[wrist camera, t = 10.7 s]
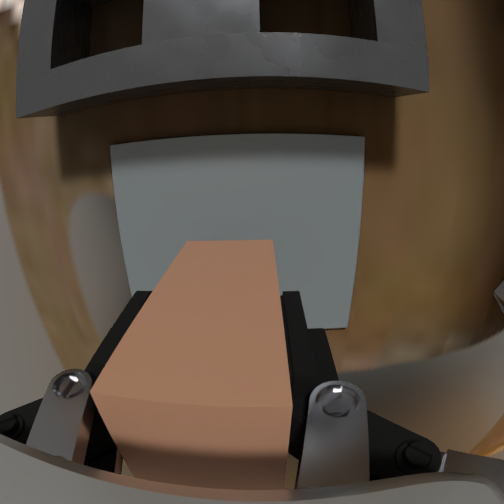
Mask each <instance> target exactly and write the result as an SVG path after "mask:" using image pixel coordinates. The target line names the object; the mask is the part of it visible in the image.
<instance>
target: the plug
mask: <svg viewBox="0 0 504 504" xmlns="http://www.w3.org/2000/svg"><path fill="white" fill-rule="evenodd" d="M90 393H91V395H92V398H93V400H94V402H95V404H96V406H97V409H98V411H99V413H100V415H101V417H102V419H103V421H104V423H105V425H106V427H107V429H108V431H109V433H110V435H111V437H112V439H113V441H114V443H115V444H116V446H117V448H118V450H119V452H120V453H121V455H122V457H123V459H124V460H125V462H126V464H127V466H128V467H129V469H130V471H131V472H132V474H133V476H134V477H135V478H139V479H144V480H150V481H156V482H162V483H168V484H176V485H183V486H192V487H202V488H215V489H232V490H283V487H284V480H285V472H286V463H287V455H288V446H289V437H290V428H291V418H292V408H293V404H292V395H291V386H290V376H289V367H288V359H287V350H286V341H285V333H284V324H283V316H282V308H281V299H280V291H279V283H278V276H277V268H276V260H275V252H274V245H273V240H217V241H187V242H186V243H185V245H184V246H183V248H182V249H181V250H180V252H179V253H178V255H177V256H176V258H175V259H174V261H173V262H172V263H171V265H170V266H169V268H168V269H167V271H166V272H165V274H164V275H163V277H162V278H161V280H160V281H159V282H158V284H157V285H156V287H155V288H154V290H153V291H152V293H151V294H150V296H149V297H148V299H147V300H146V302H145V303H144V305H143V307H142V308H141V310H140V311H139V313H138V314H137V316H136V317H135V319H134V320H133V322H132V324H131V325H130V327H129V328H128V330H127V331H126V333H125V334H124V336H123V338H122V339H121V341H120V342H119V344H118V346H117V347H116V349H115V350H114V352H113V354H112V355H111V357H110V359H109V360H108V362H107V363H106V365H105V367H104V368H103V370H102V372H101V373H100V375H99V377H98V378H97V380H96V382H95V383H94V385H93V387H92V389H91V390H90Z"/></svg>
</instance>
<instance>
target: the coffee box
mask: <svg viewBox="0 0 504 504" xmlns="http://www.w3.org/2000/svg"><path fill="white" fill-rule="evenodd" d="M493 295H494V297H495V299H496V301H497V302H498V304H499V306H500V308H501V310H502V312H503V313H504V280H503V281H502V282H501V284H500V285H499V286H498V287H497V288H496V289H495V290H494V293H493Z"/></svg>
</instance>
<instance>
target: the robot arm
mask: <svg viewBox="0 0 504 504" xmlns="http://www.w3.org/2000/svg"><path fill="white" fill-rule="evenodd" d="M151 293H152V291H136V292H135V294H134V295H133V297H132V298H131V300H130V301H129V303H128V304H127V305H126V307H125V308H124V310H123V312H122V313H121V314H120V316H119V317H118V319H117V321H116V322H115V324H114V325H113V327H112V328H111V329H110V331H109V332H108V334H107V336H106V337H105V338H104V340H103V341H102V343H101V345H100V346H99V348H98V349H97V351H96V353H95V354H94V356H93V357H92V359H91V361H90V362H89V364H88V365H87V367H86V369H85V370H81V369H68V370H65V371H62V372H61V373H59V374H57V375H56V376H55V377H54V378H53V379H52V380H51V382H50V383H49V386H48V388H47V390H46V393H45V395H44V397H43V398H42V399H39V400H36V401H34V402H32V403H29V404H26V405H23V406H21V407H18V408H16V409H13V410H11V411H8V412H6V413H4V414H2V415H0V504H504V460H501V459H497V458H490V457H485V456H479V455H473V454H468V453H463V452H458V451H453V450H447V452H446V453H444V452H440V451H439V448H438V447H437V446H436V445H435V444H434V443H433V442H432V441H430V440H428V439H427V438H424V437H422V436H420V435H418V434H415V433H413V432H411V431H409V430H407V429H405V428H403V427H401V426H399V425H397V424H394V423H392V422H391V421H388V420H386V419H384V418H382V417H380V416H378V415H376V414H374V413H372V412H371V411H368V410H367V406H366V405H367V404H366V398H365V395H364V393H363V392H362V391H361V389H359V388H358V387H356V386H355V385H354V384H351V383H348V382H344V381H339V380H338V376H337V372H336V368H335V365H334V361H333V358H332V354H331V350H330V347H329V343H328V340H327V336H326V333H325V330H324V328H310V329H308V328H307V323H306V319H305V314H304V310H303V305H302V301H301V296H300V292H299V291H283V294H282V295H280V299H281V308H282V316H283V324H284V333H285V341H286V350H287V359H288V367H289V376H290V386H291V395H292V404H293V408H292V418H291V428H290V437H289V446H288V451H289V453H290V454H291V455H292V456H294V457H295V458H297V459H298V460H299V463H298V469H297V476H296V482H295V488H294V489H289V490H232V489H215V488H202V487H192V486H183V485H176V484H168V483H162V482H156V481H150V480H144V479H139V478H134V477H129V476H124V475H121V472H122V463H123V457H122V455H121V453H120V452H119V450H118V448H117V446H116V444H115V443H114V441H113V439H112V437H111V435H110V433H109V431H108V429H107V427H106V425H105V423H104V421H103V419H102V417H101V415H100V413H99V411H98V409H97V406H96V404H95V402H94V400H93V398H92V395H91V393H90V390H91V389H92V387H93V385H94V383H95V382H96V380H97V378H98V377H99V375H100V373H101V372H102V370H103V368H104V367H105V365H106V363H107V362H108V360H109V359H110V357H111V355H112V354H113V352H114V350H115V349H116V347H117V346H118V344H119V342H120V341H121V339H122V338H123V336H124V334H125V333H126V331H127V330H128V328H129V327H130V325H131V324H132V322H133V320H134V319H135V317H136V316H137V314H138V313H139V311H140V310H141V308H142V307H143V305H144V303H145V302H146V300H147V299H148V297H149V296H150V294H151Z"/></svg>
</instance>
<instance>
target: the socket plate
mask: <svg viewBox="0 0 504 504" xmlns="http://www.w3.org/2000/svg"><path fill="white" fill-rule="evenodd" d="M107 1H111V0H25V2H24V7H23V14H22V20H21V28H20V36H19V46H18V58H17V77H16V118H28V117H44V116H58V115H62V114H66V113H70V112H74V111H78V110H82V109H87V108H91V107H96V106H100V105H105V104H110V103H116V102H121V101H127V100H133V99H139V98H145V97H152V96H159V95H167V94H176V93H185V92H196V91H208V90H223V89H246V88H297V89H321V90H336V91H348V92H358V93H367V94H376V95H384V96H391V97H399V96H406V95H412V94H419V93H426V92H429V70H428V56H427V44H426V34H425V26H424V18H423V11H422V5H421V0H348V3H349V13H350V24H351V37H343V36H334V35H323V34H309V33H286V32H260V14H259V0H144V3H143V23H142V45H137V46H132V47H127V48H123V49H118V50H114V51H110V52H106V53H102V54H98V55H95V56H91V57H89V44H90V27H91V15H92V6H95V5H98V4H101V3H104V2H107Z"/></svg>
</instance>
